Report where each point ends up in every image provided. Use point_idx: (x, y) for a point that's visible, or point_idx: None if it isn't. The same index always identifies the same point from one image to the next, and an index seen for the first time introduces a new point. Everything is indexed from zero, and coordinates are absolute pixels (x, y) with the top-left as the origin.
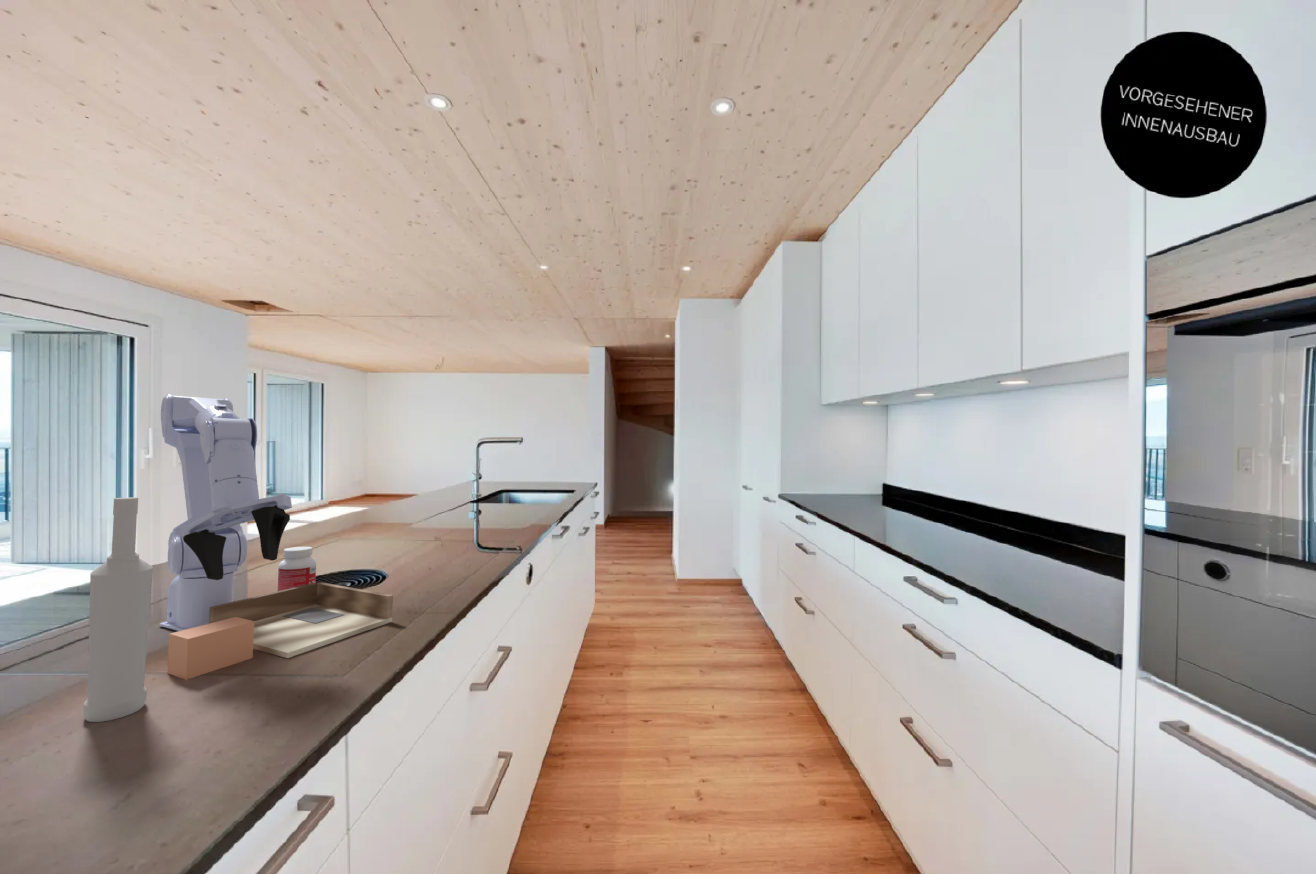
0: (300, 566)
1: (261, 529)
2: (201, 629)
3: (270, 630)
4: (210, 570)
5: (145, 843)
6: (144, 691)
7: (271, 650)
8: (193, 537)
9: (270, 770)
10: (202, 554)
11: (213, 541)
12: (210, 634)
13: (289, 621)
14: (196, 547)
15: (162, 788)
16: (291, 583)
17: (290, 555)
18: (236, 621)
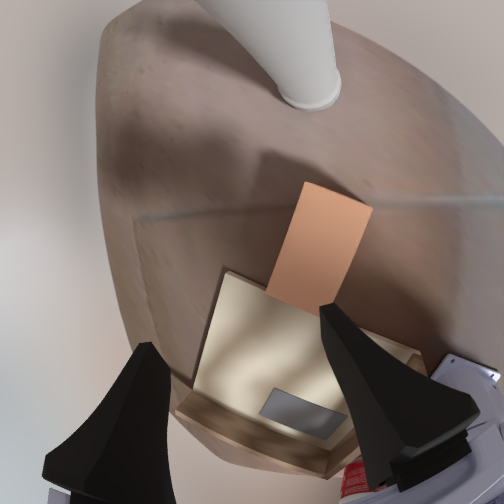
0: (349, 498)
1: (107, 419)
2: (329, 238)
3: (325, 364)
4: (326, 319)
5: (124, 18)
6: (282, 94)
7: (264, 289)
8: (427, 418)
9: (103, 75)
10: (370, 363)
11: (372, 448)
12: (292, 219)
13: (322, 398)
14: (403, 383)
15: (146, 35)
16: (363, 474)
17: None
18: (298, 290)
